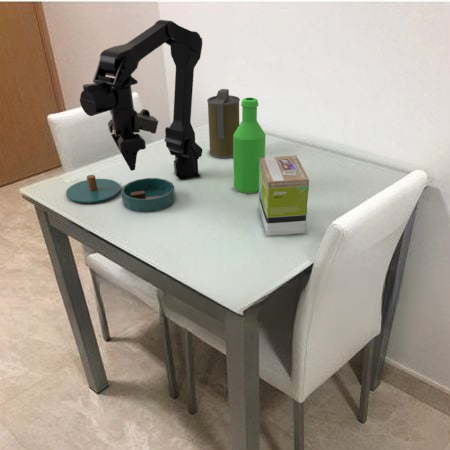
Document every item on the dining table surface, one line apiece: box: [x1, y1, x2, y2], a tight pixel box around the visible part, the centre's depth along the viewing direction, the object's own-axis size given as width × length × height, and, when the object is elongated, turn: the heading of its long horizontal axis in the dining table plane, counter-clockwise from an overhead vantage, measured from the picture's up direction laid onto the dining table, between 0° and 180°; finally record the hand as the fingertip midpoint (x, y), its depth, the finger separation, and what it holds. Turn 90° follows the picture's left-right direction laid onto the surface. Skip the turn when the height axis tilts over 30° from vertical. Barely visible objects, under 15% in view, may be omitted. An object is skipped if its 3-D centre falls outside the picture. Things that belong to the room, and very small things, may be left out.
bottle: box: [232, 97, 266, 194], centre depth 137 cm, size 9×9×25 cm
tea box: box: [258, 155, 310, 237], centre depth 123 cm, size 15×10×15 cm, turn 5°
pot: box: [120, 177, 176, 213], centre depth 138 cm, size 14×14×4 cm
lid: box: [65, 174, 121, 204], centre depth 142 cm, size 15×15×5 cm
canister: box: [206, 88, 241, 159], centre depth 161 cm, size 11×10×20 cm
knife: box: [130, 191, 163, 199], centre depth 138 cm, size 9×2×2 cm, turn 110°
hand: (130, 165), depth 133 cm, fingers open, 6 cm apart
